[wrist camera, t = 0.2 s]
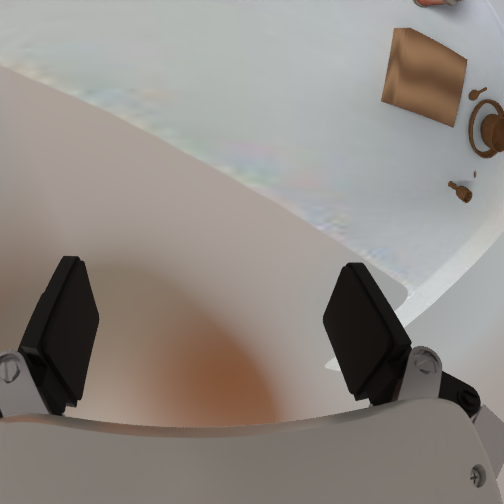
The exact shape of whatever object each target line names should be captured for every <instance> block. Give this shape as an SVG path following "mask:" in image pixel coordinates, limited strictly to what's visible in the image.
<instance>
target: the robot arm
mask: <svg viewBox="0 0 504 504" xmlns="http://www.w3.org/2000/svg"><path fill="white" fill-rule="evenodd" d="M98 324H99V314H98V311H97V307H96V304H95V301H94V297H93V293H92V290H91V286H90V282H89V278H88V274H87V270H86V266H85V263H84V261H81V260H80V258H79V257H78V256H63V258H62V259H61V261H60V263H59V264H58V266H57V268H56V270H55V272H54V274H53V276H52V278H51V280H50V282H49V284H48V286H47V288H46V290H45V292H44V293H43V294H42V295H41V297H40V299H39V302H38V303H37V305H36V308H35V310H34V312H33V314H32V316H31V319H30V321H29V324H28V326H27V328H26V330H25V333H24V336H23V338H22V341H21V343H20V345H19V348H18V351H15V350H6V351H2V352H1V353H0V504H503V502H502V498H501V494H500V491H499V488H498V485H497V481H496V478H497V476H498V474H499V472H500V470H501V468H502V465H503V463H504V423H503V422H502V421H501V420H500V419H499V418H498V417H497V416H496V415H495V414H494V413H493V412H492V411H490V410H489V409H488V408H487V407H486V406H485V405H484V404H483V405H482V406H480V403H481V402H480V397H479V395H478V393H477V391H476V390H475V389H474V388H473V387H471V386H470V385H468V384H466V383H464V382H462V381H461V380H458V379H457V378H455V377H453V376H451V375H449V374H447V373H445V372H443V371H442V363H441V360H440V358H439V356H438V355H437V354H436V353H435V352H434V351H433V350H431V349H430V348H427V347H424V346H417V347H414V348H413V349H412V348H411V346H410V345H411V343H412V342H411V340H410V338H409V337H408V335H407V333H406V332H405V330H404V328H403V326H402V324H401V323H400V321H399V319H398V318H397V316H396V314H395V313H394V311H393V309H392V308H391V306H390V304H389V303H388V301H387V299H386V298H385V297H384V295H383V293H382V291H381V290H380V288H379V287H378V285H377V283H376V282H375V280H374V279H373V277H372V276H371V274H370V273H369V271H368V269H367V268H366V266H365V265H364V264H363V263H348V264H346V266H344V267H343V268H342V270H341V272H340V275H339V277H338V280H337V283H336V285H335V288H334V290H333V293H332V296H331V298H330V301H329V303H328V305H327V308H326V310H325V313H324V316H323V324H324V327H325V329H326V332H327V334H328V337H329V340H330V342H331V345H332V347H333V350H334V352H335V355H336V358H337V360H338V363H339V366H340V368H341V371H342V373H343V376H344V379H345V382H346V384H347V387H348V390H349V392H350V393H351V394H354V397H355V400H356V401H358V400H363V399H367V398H369V401H370V405H369V407H368V408H364V409H359V410H354V411H349V412H345V413H340V414H334V415H328V416H323V417H316V418H310V419H303V420H296V421H289V422H280V423H270V424H260V425H246V426H228V427H160V426H143V425H130V424H119V423H110V422H101V421H93V420H85V419H79V418H72V417H66V416H65V415H64V412H65V407H66V406H70V407H76V406H77V400H81V399H82V395H83V390H84V384H85V380H86V375H87V370H88V365H89V361H90V356H91V352H92V348H93V344H94V340H95V336H96V332H97V328H98Z"/></svg>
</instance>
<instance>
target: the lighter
mask: <svg viewBox="0 0 504 504" xmlns="http://www.w3.org/2000/svg"><path fill="white" fill-rule="evenodd" d="M413 1H414V3H415V4H416V5H418V6H420V7H426V6H428V5H441V4H448V5H456V4H457V2H458V1H464V0H413Z"/></svg>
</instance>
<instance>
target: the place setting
mask: <svg viewBox="0 0 504 504" xmlns="http://www.w3.org/2000/svg"><path fill="white" fill-rule="evenodd" d="M485 90H487V87H485V88H483V89H482V90H480V91H477V90H473V91H471V92H470V94H469V99H470V100H476V99H477V97H478V95H479V94H480V93H482V92H483V91H485ZM485 103H490V104H492V105H493V106H494V107H495V108H496V110H497V112H498V115H496V114H490V115H488V116H487V117H486V118H485V119H484V120H483V122H482V124H481V135H482V139H483V141H484V143H485V144H486V145H487V146H488V147H489V148H491V149H490V150H488V151H486V152H481V151H478V150H477V149H476V148H475V145H474V141H473V124H474V120H475V117H476V114H477V112H478V110H479V109H480V107H481V106H482V105H483V104H485ZM469 139H470V143H471V145H472V148H473V149H474V151H475V152H476V153H477V154H478V155H479V156H481V157H482V158H491V157H493V156H494V155H495V154H496V153H497V152H502V151H504V111H503V109H502V107H501V106H500V105H499V103H497V102H496V101H493V100H484V101H481V102H480V103H479V104H478V105H477V106H476V107H475V109H474V110H473V112H472V115H471V118H470V122H469ZM475 173H476V171H475V172H474V174H475ZM475 175H476V174H475ZM475 175H474V176H475ZM475 177H476V176H475ZM475 177H474V178H475ZM448 186H449V187H450V186H451V187H452V189H455V190H456V194H457V196H458V197H459V198H460V199H461V200H462V201H463V202H465V203H468V202H469V201H470V200H471V198H472V192H471V191H470V190H469V189H467V188H466V187H464V186H459V187H457V186H456V184H454V183H452V181H450V182H449V183H448Z"/></svg>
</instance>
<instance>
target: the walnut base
mask: <svg viewBox="0 0 504 504" xmlns="http://www.w3.org/2000/svg"><path fill="white" fill-rule="evenodd" d="M466 66H467V59H465V58H464V57H462V56H461V55H459V54H457V53H456V52H454V51H452V50H451V49H449V48H447V47H446V46H444V45H442V44H440V43H438V42H437V41H435V40H433V39H431V38H429V37H427V36H425V35H423V34H422V33H420V32H418V31H415V30H413V29H411V28H394V33H393V39H392V46H391V52H390V58H389V63H388V69H387V74H386V79H385V85H384V90H383V94H382V99H381V101H382V102H385V103H388V104H391V105H394V106H397V107H400V108H403V109H406V110H409V111H412V112H415V113H417V114H420V115H423V116H426V117H428V118H431V119H433V120H436V121H438V122H441V123H443V124H446V125H448V126H450V127H454V123H455V119H456V115H457V111H458V107H459V102H460V98H461V93H462V88H463V83H464V78H465V72H466Z"/></svg>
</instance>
